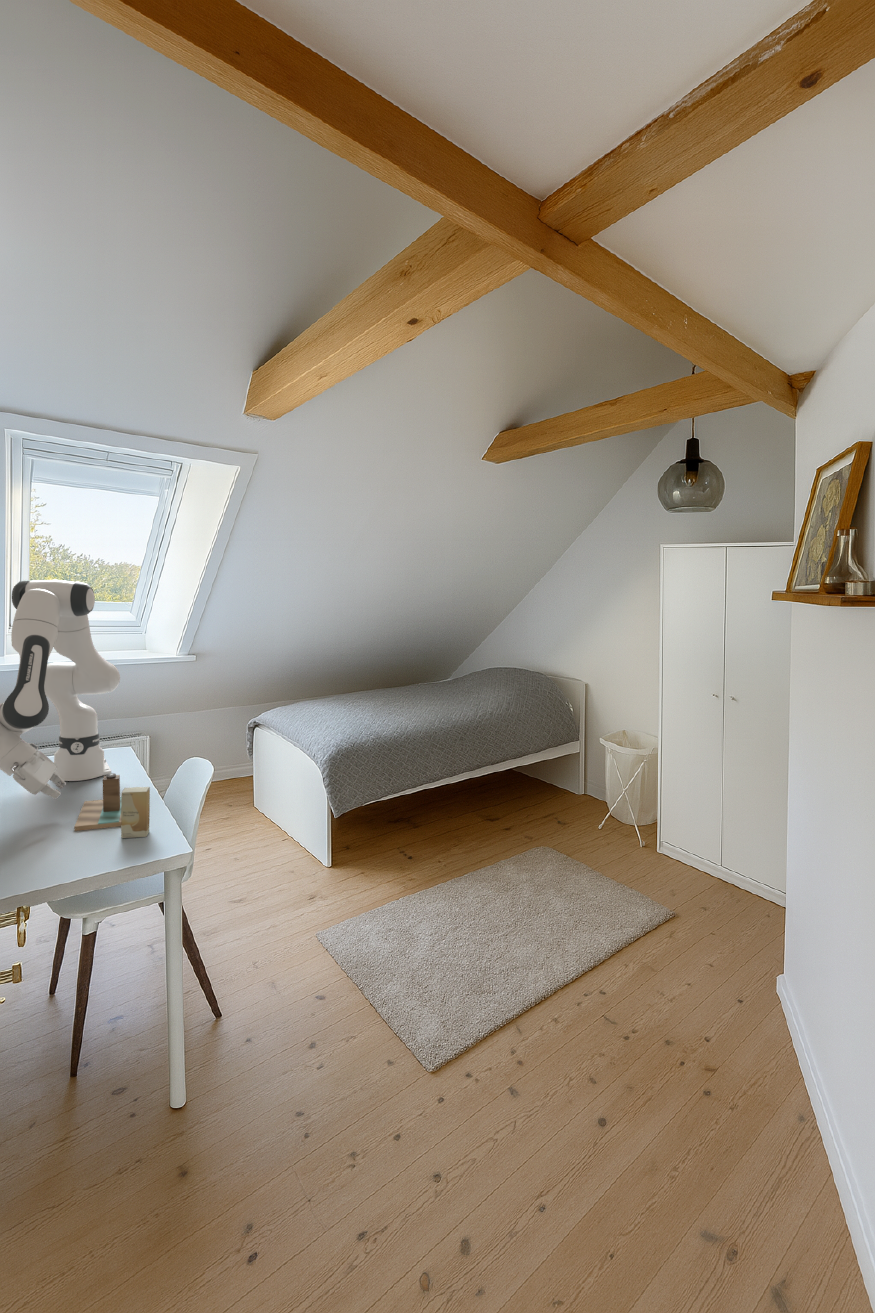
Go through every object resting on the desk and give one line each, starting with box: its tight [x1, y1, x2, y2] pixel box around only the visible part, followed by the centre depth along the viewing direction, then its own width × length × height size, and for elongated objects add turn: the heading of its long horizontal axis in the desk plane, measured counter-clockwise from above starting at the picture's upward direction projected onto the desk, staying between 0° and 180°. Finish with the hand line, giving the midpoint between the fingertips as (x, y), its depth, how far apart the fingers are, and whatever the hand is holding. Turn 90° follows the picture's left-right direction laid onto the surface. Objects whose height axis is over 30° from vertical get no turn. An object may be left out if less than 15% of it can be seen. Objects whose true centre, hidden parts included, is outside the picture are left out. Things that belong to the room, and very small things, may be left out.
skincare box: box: [120, 786, 151, 839], centre depth 164 cm, size 6×4×12 cm
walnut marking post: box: [102, 772, 121, 812], centre depth 178 cm, size 4×4×10 cm
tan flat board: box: [73, 796, 121, 832], centre depth 178 cm, size 22×15×2 cm
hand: (61, 791), depth 173 cm, fingers open, 8 cm apart
